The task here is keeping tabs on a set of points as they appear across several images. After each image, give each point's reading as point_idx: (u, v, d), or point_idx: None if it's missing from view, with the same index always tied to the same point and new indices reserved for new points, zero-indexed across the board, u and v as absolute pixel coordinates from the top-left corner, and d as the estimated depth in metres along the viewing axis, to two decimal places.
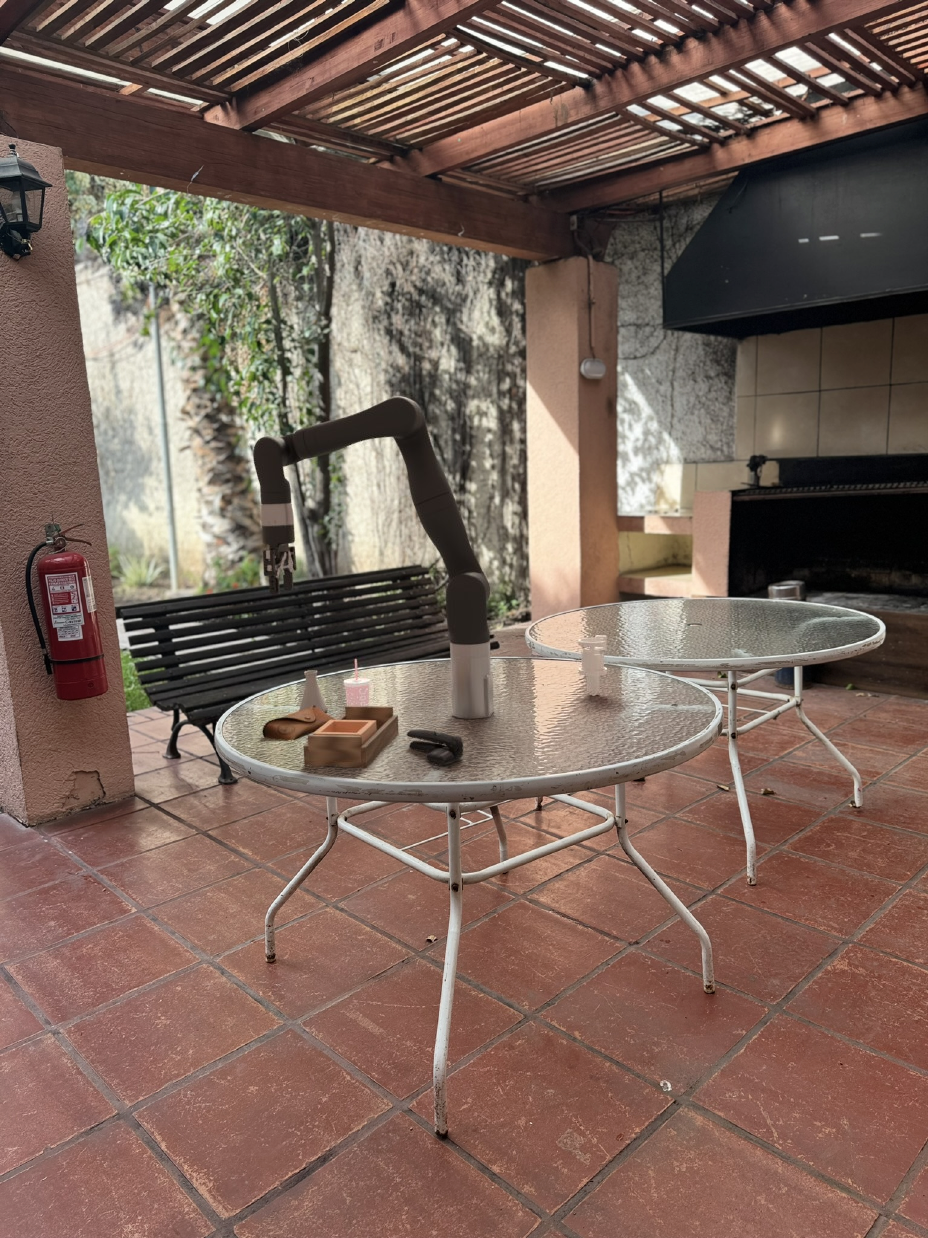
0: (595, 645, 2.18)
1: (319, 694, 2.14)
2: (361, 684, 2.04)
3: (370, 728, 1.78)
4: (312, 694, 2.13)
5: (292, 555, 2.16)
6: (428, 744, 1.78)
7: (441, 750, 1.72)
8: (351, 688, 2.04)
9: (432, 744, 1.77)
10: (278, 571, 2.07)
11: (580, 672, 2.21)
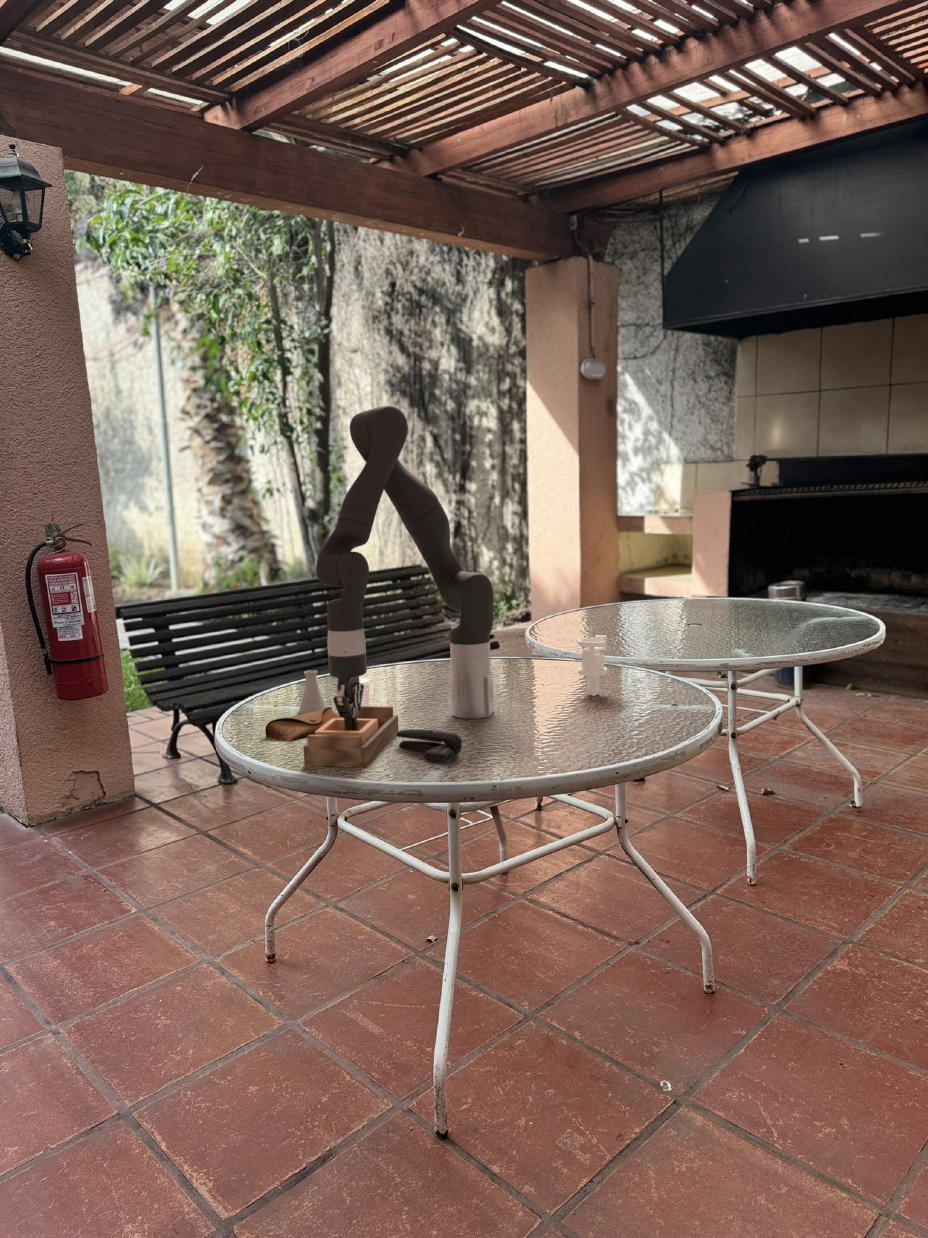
0: (595, 645, 2.18)
1: (319, 694, 2.14)
2: None
3: (371, 726, 1.79)
4: (312, 694, 2.13)
5: (359, 692, 1.84)
6: (422, 743, 1.79)
7: (440, 748, 1.73)
8: None
9: (426, 743, 1.79)
10: (354, 710, 1.79)
11: (580, 672, 2.21)
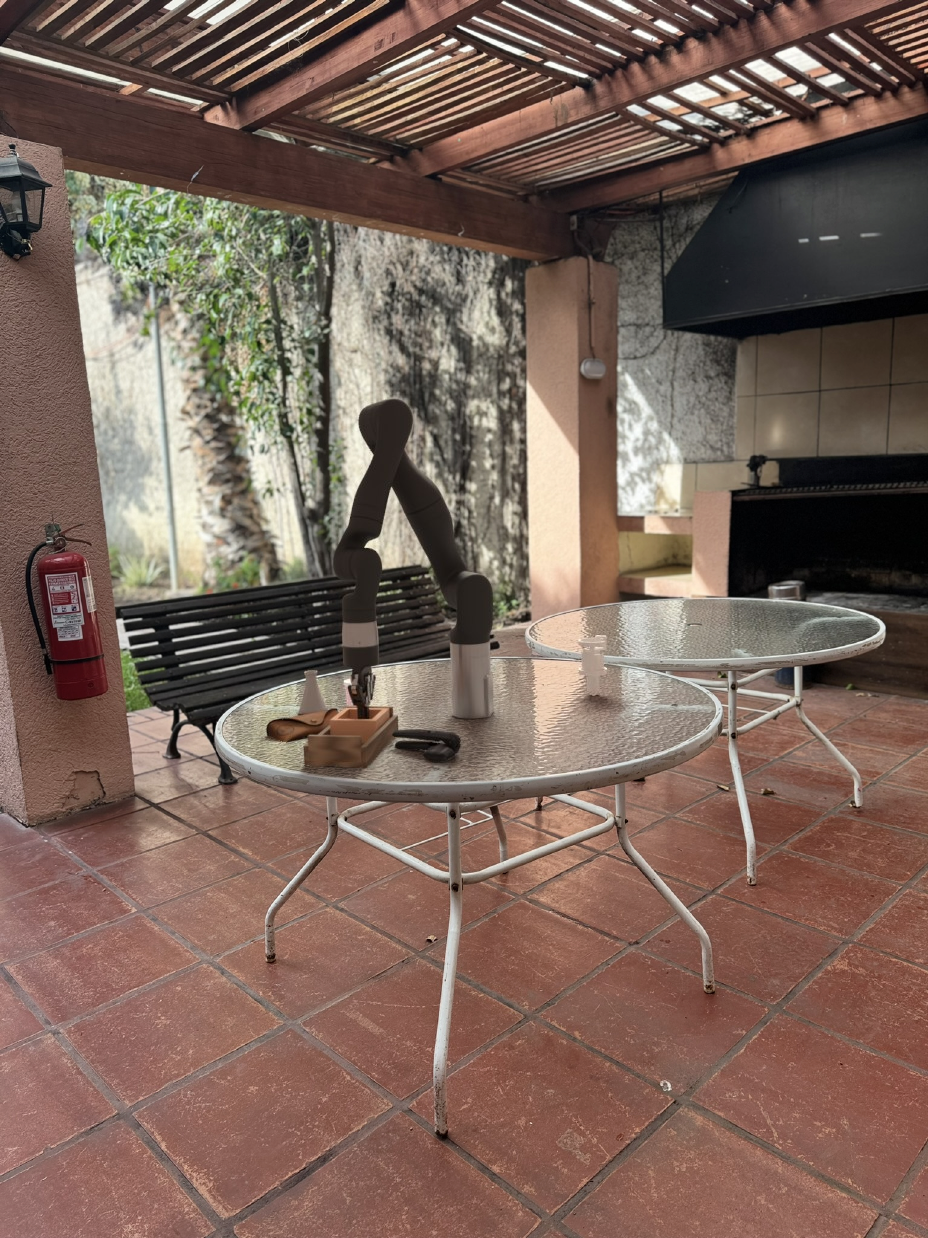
0: (595, 645, 2.18)
1: (319, 694, 2.14)
2: None
3: (383, 715, 1.87)
4: (312, 694, 2.13)
5: (371, 682, 1.93)
6: (419, 743, 1.79)
7: (439, 747, 1.74)
8: None
9: (424, 742, 1.79)
10: (366, 699, 1.88)
11: (580, 672, 2.21)
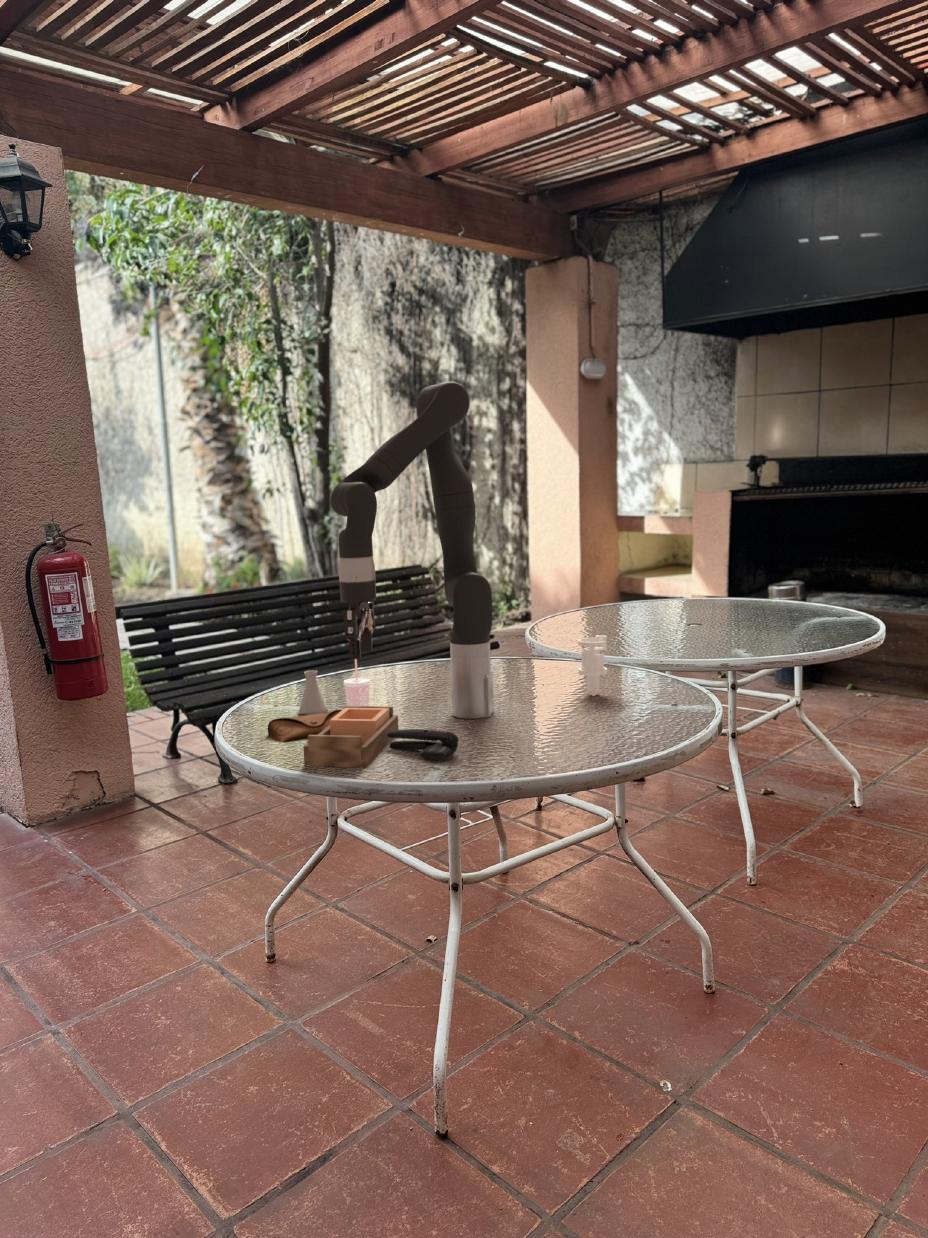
0: (595, 645, 2.18)
1: (319, 694, 2.14)
2: (361, 684, 2.04)
3: (383, 715, 1.87)
4: (312, 694, 2.13)
5: (371, 612, 1.94)
6: (415, 742, 1.80)
7: (437, 746, 1.74)
8: (351, 688, 2.04)
9: (420, 742, 1.79)
10: (359, 633, 1.84)
11: (580, 672, 2.21)
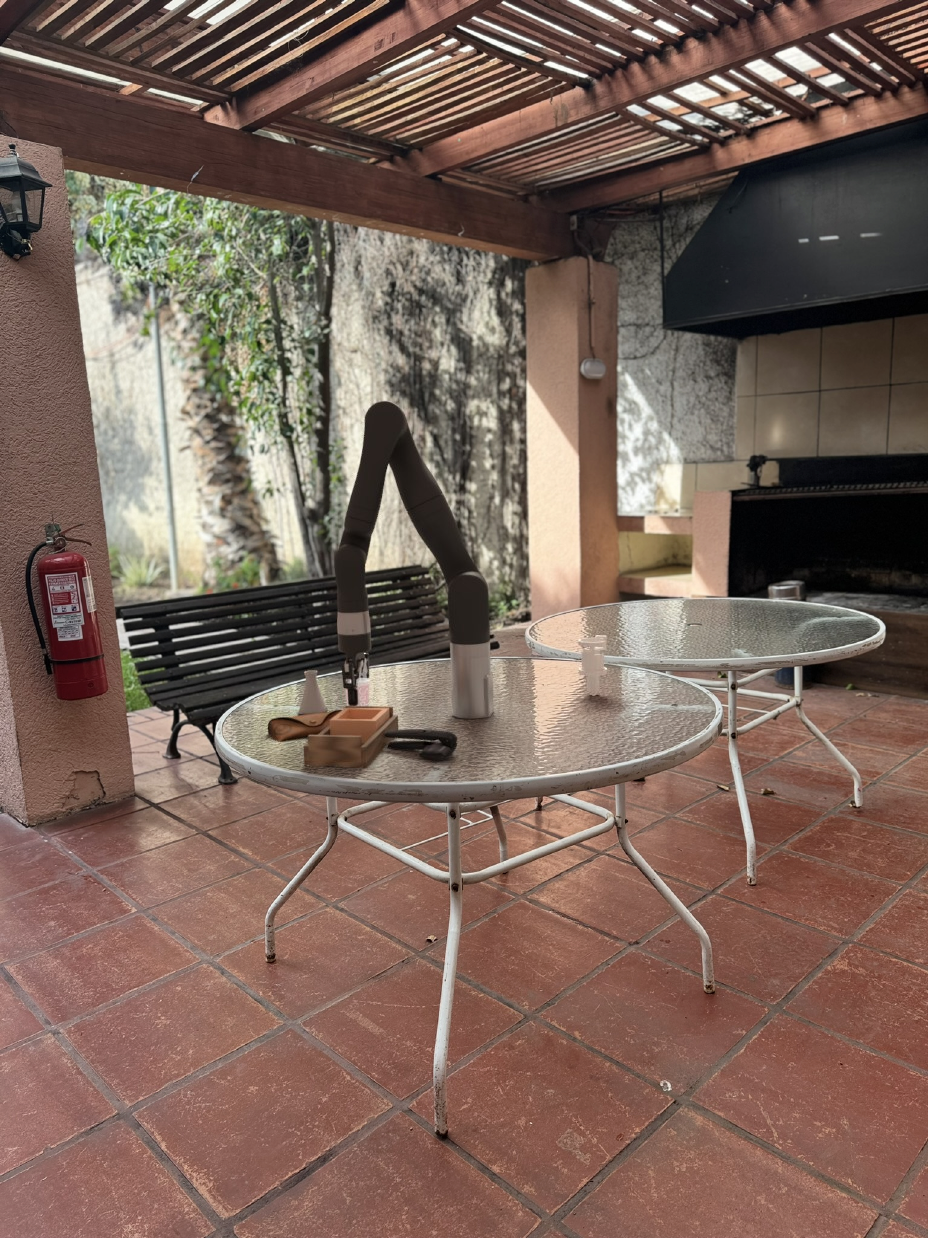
0: (595, 645, 2.18)
1: (319, 694, 2.14)
2: (361, 684, 2.04)
3: (383, 715, 1.87)
4: (312, 694, 2.13)
5: (366, 662, 2.11)
6: (413, 742, 1.80)
7: (436, 746, 1.74)
8: None
9: (419, 742, 1.79)
10: (357, 682, 2.03)
11: (580, 672, 2.21)
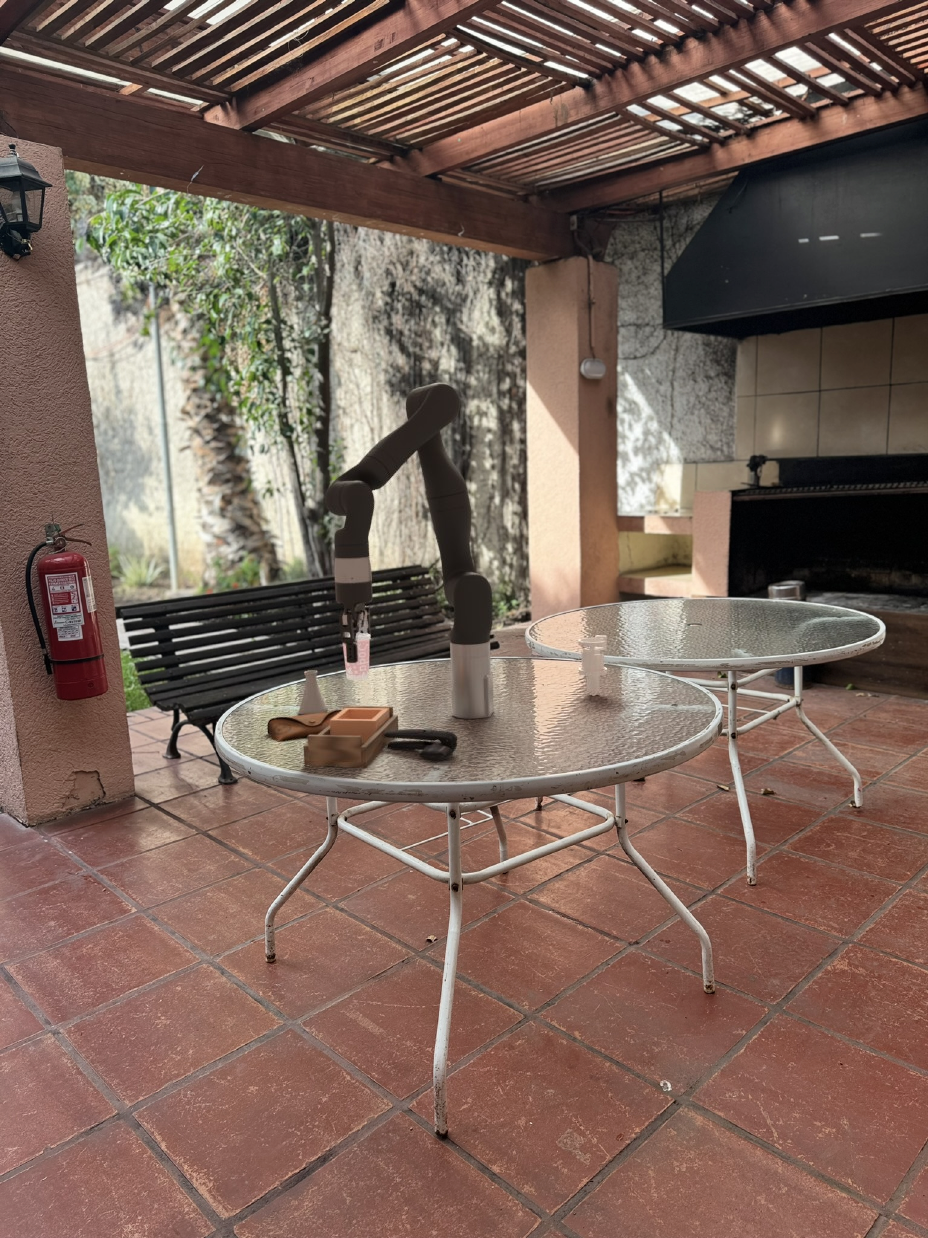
0: (595, 645, 2.18)
1: (319, 694, 2.14)
2: (360, 639, 1.83)
3: (383, 715, 1.87)
4: (312, 694, 2.13)
5: (367, 616, 1.90)
6: (413, 742, 1.80)
7: (436, 746, 1.74)
8: None
9: (418, 742, 1.79)
10: (356, 636, 1.82)
11: (580, 672, 2.21)
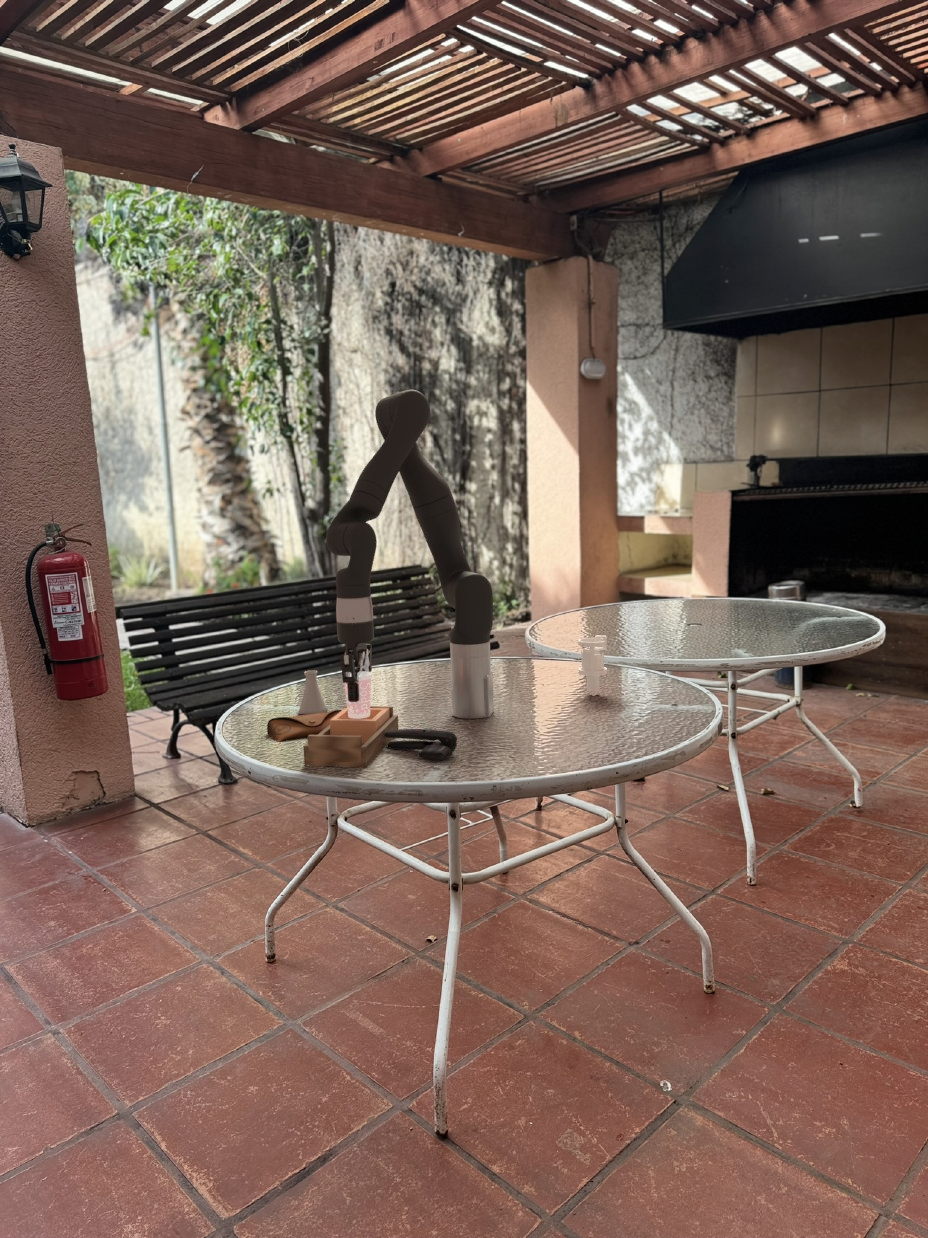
0: (595, 645, 2.18)
1: (319, 694, 2.14)
2: (362, 678, 1.84)
3: (383, 715, 1.87)
4: (312, 694, 2.13)
5: (368, 654, 1.91)
6: (413, 742, 1.80)
7: (436, 746, 1.74)
8: None
9: (418, 742, 1.79)
10: (358, 676, 1.83)
11: (580, 672, 2.21)
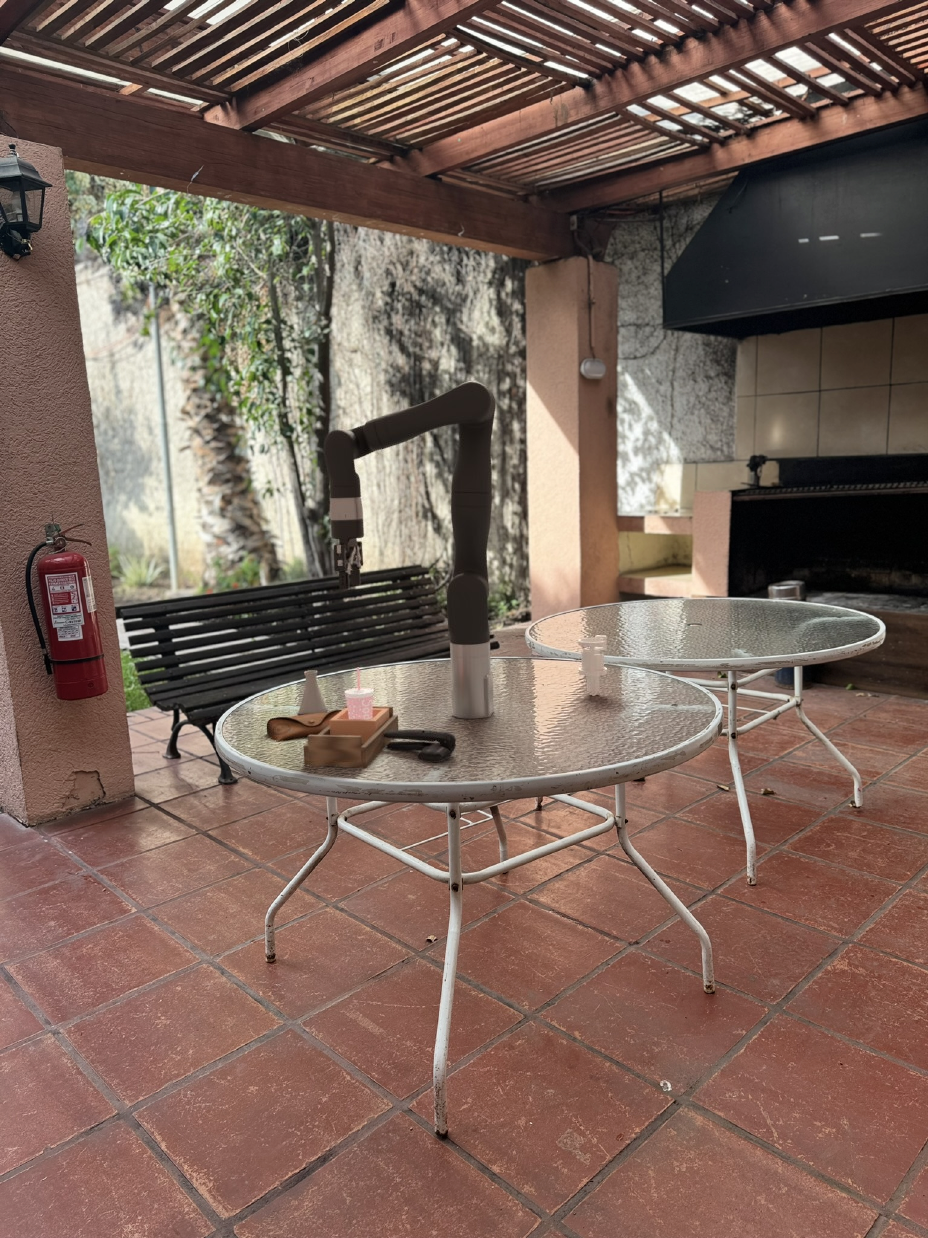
0: (595, 645, 2.18)
1: (319, 694, 2.14)
2: (364, 695, 1.84)
3: (383, 715, 1.87)
4: (312, 694, 2.13)
5: (359, 550, 2.13)
6: (412, 743, 1.79)
7: (434, 747, 1.74)
8: (353, 699, 1.84)
9: (417, 743, 1.79)
10: (348, 566, 2.04)
11: (580, 672, 2.21)
